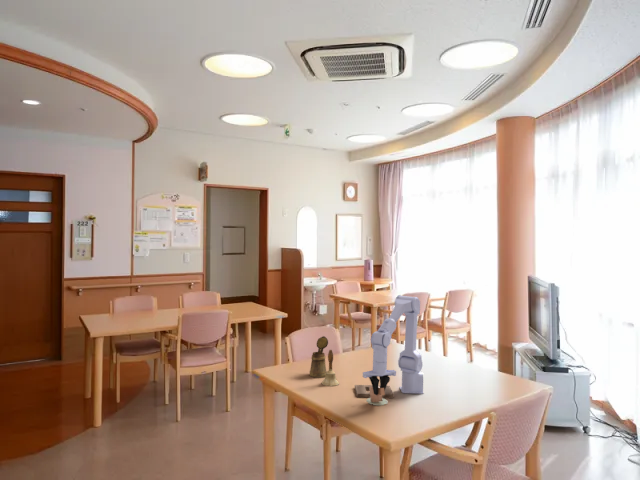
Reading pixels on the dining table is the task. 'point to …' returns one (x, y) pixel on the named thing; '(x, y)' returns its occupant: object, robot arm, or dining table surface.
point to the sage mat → (377, 402)
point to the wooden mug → (319, 359)
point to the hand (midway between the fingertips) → (378, 393)
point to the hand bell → (330, 373)
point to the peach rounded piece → (376, 397)
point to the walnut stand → (362, 392)
